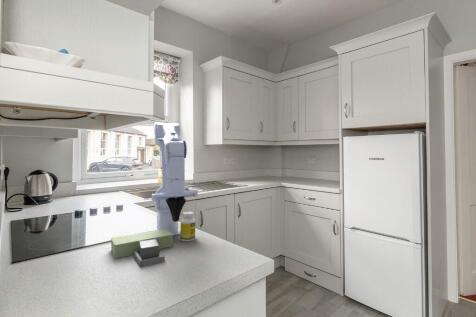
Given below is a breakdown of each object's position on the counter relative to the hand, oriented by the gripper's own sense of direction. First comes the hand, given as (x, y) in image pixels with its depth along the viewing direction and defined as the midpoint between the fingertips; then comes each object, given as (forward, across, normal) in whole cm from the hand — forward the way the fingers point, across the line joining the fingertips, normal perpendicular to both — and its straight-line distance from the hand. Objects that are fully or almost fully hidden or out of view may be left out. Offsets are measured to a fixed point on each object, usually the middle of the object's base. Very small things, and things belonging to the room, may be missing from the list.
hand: (175, 220), depth 81 cm
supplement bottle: (+10, +8, +9) cm, 16 cm away
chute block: (+10, -8, 0) cm, 13 cm away
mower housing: (+10, -8, +4) cm, 14 cm away
